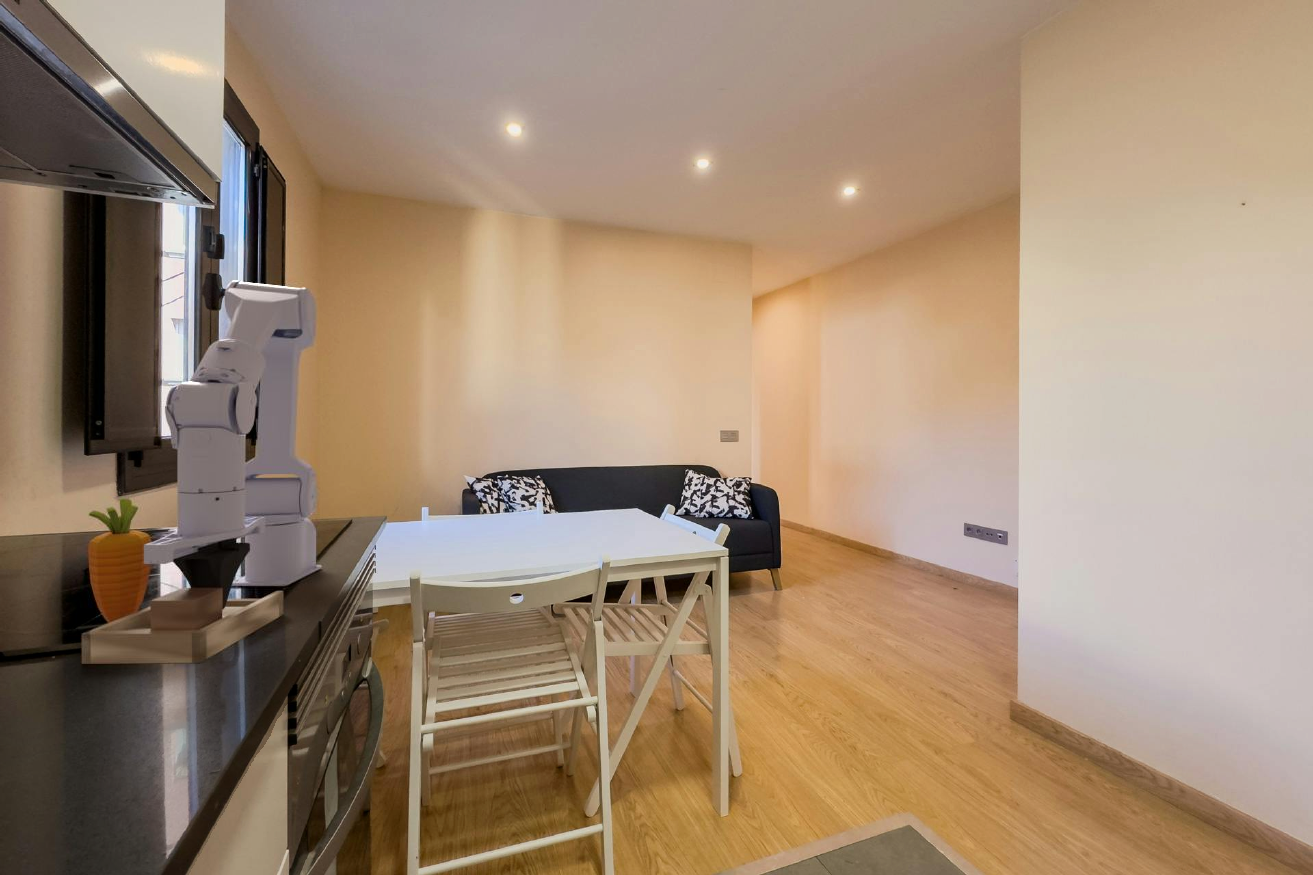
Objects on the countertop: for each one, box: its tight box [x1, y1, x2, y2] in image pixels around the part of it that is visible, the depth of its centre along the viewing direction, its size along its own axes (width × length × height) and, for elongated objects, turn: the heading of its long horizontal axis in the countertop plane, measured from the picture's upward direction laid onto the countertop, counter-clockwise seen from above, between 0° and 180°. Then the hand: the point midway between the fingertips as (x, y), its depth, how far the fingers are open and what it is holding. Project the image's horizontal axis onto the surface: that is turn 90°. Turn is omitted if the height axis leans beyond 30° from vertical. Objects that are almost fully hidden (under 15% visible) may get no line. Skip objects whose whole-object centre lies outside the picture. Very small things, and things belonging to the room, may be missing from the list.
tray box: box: [81, 590, 284, 665], centre depth 58 cm, size 13×11×3 cm
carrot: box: [87, 498, 152, 624], centre depth 58 cm, size 5×5×15 cm
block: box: [150, 587, 223, 630], centre depth 54 cm, size 4×4×4 cm
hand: (211, 610), depth 58 cm, fingers closed
